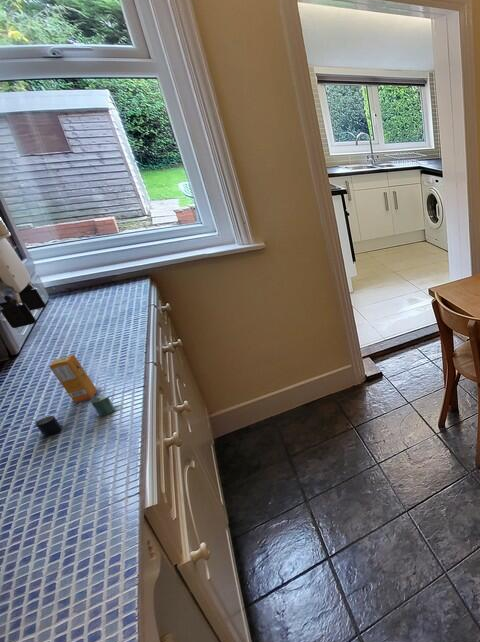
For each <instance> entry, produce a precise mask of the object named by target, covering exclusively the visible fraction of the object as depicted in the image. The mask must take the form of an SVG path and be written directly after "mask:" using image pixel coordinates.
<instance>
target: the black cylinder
mask: <svg viewBox="0 0 480 642" xmlns="http://www.w3.org/2000/svg"><path fill="white" fill-rule="evenodd" d="M35 426H36V427H37V428H38V430H39V432H40V433H41V435H42V436H43V437H44V438H47V437H52V436H55V435H57V434H59V433H60V432H61V431H62V430H63V428H62V426H61V424H60V423H59V422H58V420H57V419H56V417H55V416H54V415H49V416H44V417H43V418H39V420H37V421H36V422H35Z"/></svg>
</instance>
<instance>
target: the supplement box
mask: <svg viewBox="0 0 480 642" xmlns="http://www.w3.org/2000/svg"><path fill="white" fill-rule="evenodd" d="M48 367H49V369H50V370H51V371H52V373H53V374H54V376H55V378H56V379H57V380H58V381H59V383H60V384H61V385H62V387H63V389H64V390H65V391H66V393H67V394H68V396H69V397H70V398H71V400H72V401H73V403H74V404H75V403H76V404H77V403H79V402H83V401H88V400H92V399H94V396H95V395H96V393H97V392H98V389H97V387H96V386H95V384H94V382H93V381H92V380H91V378H90V377H89V375H88V374H87V372H86V370H85V369H84V368H83V366H82V365H81V363H80V361H79V360H78V358H77V357H76V356H75V354H71V355H67V356H63V357H58V358H56V359H54V360H53V362H52V363H51V364H50V365H49V366H48Z"/></svg>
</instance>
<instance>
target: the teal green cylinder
mask: <svg viewBox="0 0 480 642" xmlns="http://www.w3.org/2000/svg"><path fill="white" fill-rule="evenodd" d="M90 404H91V405H92V406H93V408H94V410H95V412H96V413H97V415H98V416H99V417H105V416H108V415H110V414H112V413H113V412H114V411H116V408H115V406H114V405H113V403H112V401H111V399H110V398H109V395H108V394H102V395H101V394H100V395H98V396H95V397H93V398H91V399H90Z"/></svg>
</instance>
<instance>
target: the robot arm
mask: <svg viewBox="0 0 480 642" xmlns="http://www.w3.org/2000/svg"><path fill="white" fill-rule="evenodd" d="M11 236H12V234H11V232H10V230H9V229H8V227H7V226H6V224H5V222H4V221H3V219H2V217H0V312H1V314H2V315H3V317H4V318H5V320H6V321H7V323H8V324H9V326H10V327H11V328H12V329H17V328H21V327H25V326H26V327H27V326H29V325H33V324H36V322H37V319H36V317H35V316H34V314H33V313H32V312H31V311H34V310H39V309H43V308H46V306H47V304H46V302H45V301H44V299H43V298H42V296H41V294H40V293H39V290H37V288H35V287H36V286H35V285H34V283H33V282H32V281H31V276H30V274H29V271H28V270H27V267H26V266H25V265H24V263H23V261H22V260H21V258H20V256H19V255H18V254H17V252H16V251H15V249H14V248H13V246H12V244H11V243H10V242H9V240H8V239H7V238H10V237H11ZM11 296H12V297H11Z"/></svg>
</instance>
